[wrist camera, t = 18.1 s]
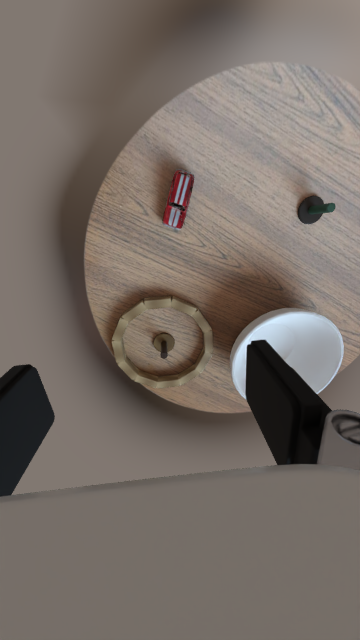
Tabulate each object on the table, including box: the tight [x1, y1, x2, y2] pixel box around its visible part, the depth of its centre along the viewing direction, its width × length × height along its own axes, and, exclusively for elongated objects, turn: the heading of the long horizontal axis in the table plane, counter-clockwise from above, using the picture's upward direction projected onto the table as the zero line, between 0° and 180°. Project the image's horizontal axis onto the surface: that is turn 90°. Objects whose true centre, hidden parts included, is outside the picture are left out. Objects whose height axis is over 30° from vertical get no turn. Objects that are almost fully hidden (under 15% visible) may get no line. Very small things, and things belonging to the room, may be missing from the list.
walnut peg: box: [154, 333, 175, 359], centre depth 41 cm, size 4×4×5 cm
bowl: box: [230, 308, 344, 400], centre depth 42 cm, size 20×20×7 cm
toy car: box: [163, 169, 194, 230], centre depth 33 cm, size 4×8×3 cm, turn 164°
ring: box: [112, 296, 213, 388], centre depth 42 cm, size 19×19×2 cm
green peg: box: [298, 196, 335, 224], centre depth 34 cm, size 4×4×5 cm
